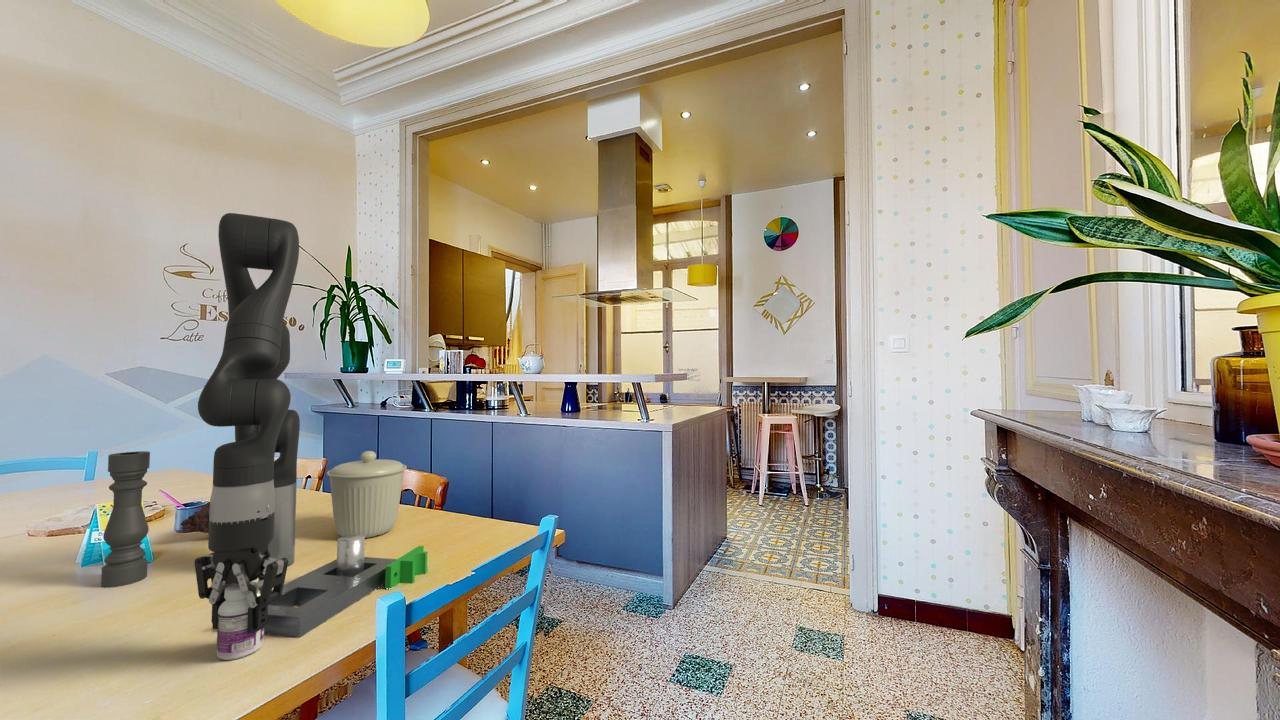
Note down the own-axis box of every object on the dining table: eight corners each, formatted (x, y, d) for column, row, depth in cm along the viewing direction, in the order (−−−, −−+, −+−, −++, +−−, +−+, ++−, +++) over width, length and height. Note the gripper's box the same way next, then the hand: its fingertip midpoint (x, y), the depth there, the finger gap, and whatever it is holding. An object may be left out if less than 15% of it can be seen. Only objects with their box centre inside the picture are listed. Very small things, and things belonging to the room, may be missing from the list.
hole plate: (228, 629, 77) (229, 610, 77) (344, 569, 100) (344, 555, 100) (299, 637, 74) (300, 617, 75) (400, 574, 98) (400, 559, 98)
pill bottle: (235, 641, 73) (237, 577, 73) (272, 640, 74) (273, 576, 74) (206, 662, 68) (208, 593, 68) (246, 660, 68) (248, 592, 69)
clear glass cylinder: (330, 588, 91) (331, 541, 92) (348, 578, 96) (349, 533, 96) (351, 590, 91) (352, 542, 91) (369, 580, 95) (370, 534, 95)
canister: (306, 542, 116) (309, 455, 117) (361, 520, 134) (363, 445, 135) (372, 547, 113) (374, 458, 114) (419, 524, 131) (421, 447, 132)
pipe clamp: (403, 591, 91) (403, 567, 91) (384, 590, 91) (385, 566, 92) (434, 567, 102) (435, 545, 102) (418, 566, 103) (418, 545, 103)
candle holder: (153, 577, 96) (157, 452, 97) (109, 589, 90) (114, 457, 91) (138, 572, 99) (143, 450, 99) (95, 583, 93) (100, 454, 94)
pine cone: (184, 549, 111) (185, 506, 112) (175, 540, 117) (176, 499, 117) (276, 530, 125) (277, 492, 126) (263, 523, 131) (264, 486, 132)
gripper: (174, 517, 69) (170, 638, 68) (260, 522, 66) (257, 647, 66) (227, 503, 76) (223, 612, 75) (306, 508, 74) (303, 619, 73)
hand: (239, 628), depth 70 cm, fingers closed on pill bottle, 5 cm apart
